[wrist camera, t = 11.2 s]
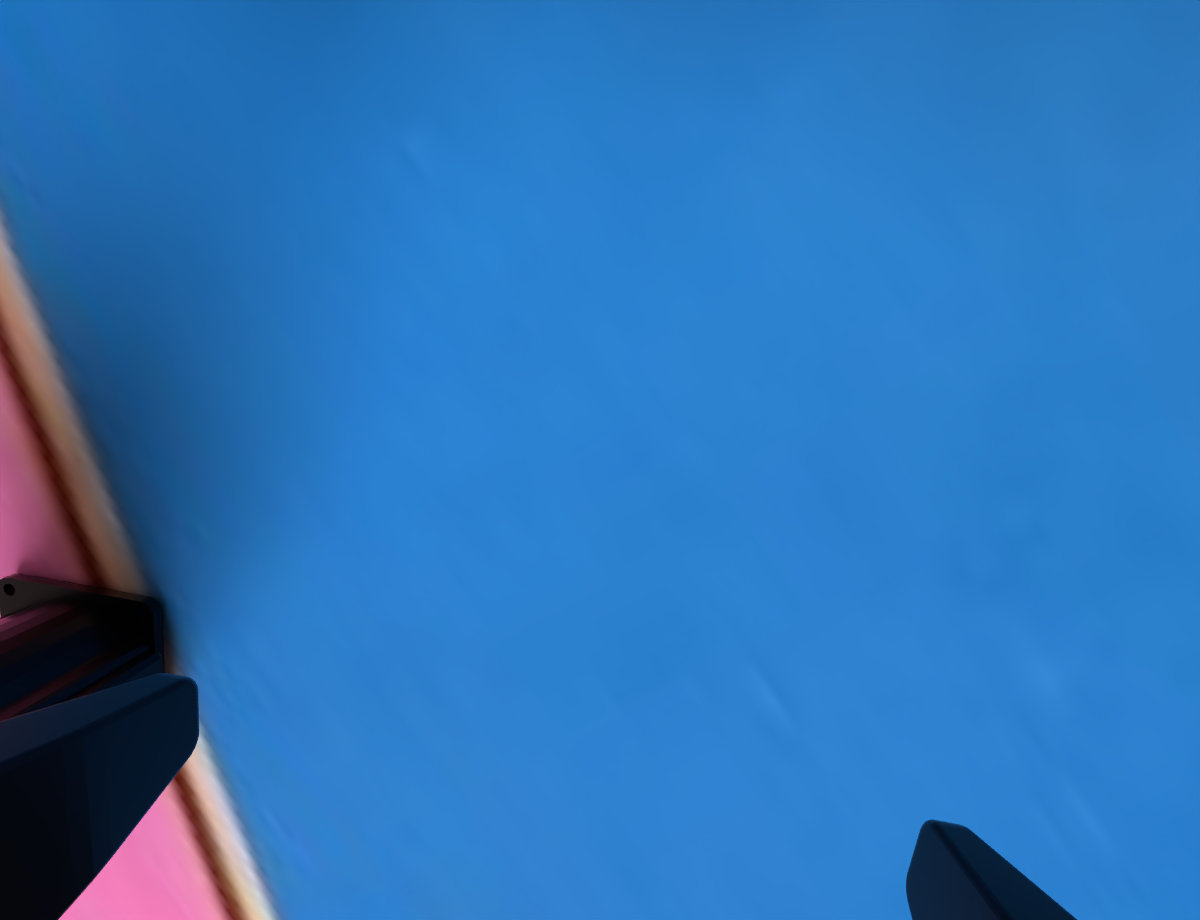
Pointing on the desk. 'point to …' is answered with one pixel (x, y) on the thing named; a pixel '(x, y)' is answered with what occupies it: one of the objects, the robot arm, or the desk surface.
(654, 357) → the desk surface
